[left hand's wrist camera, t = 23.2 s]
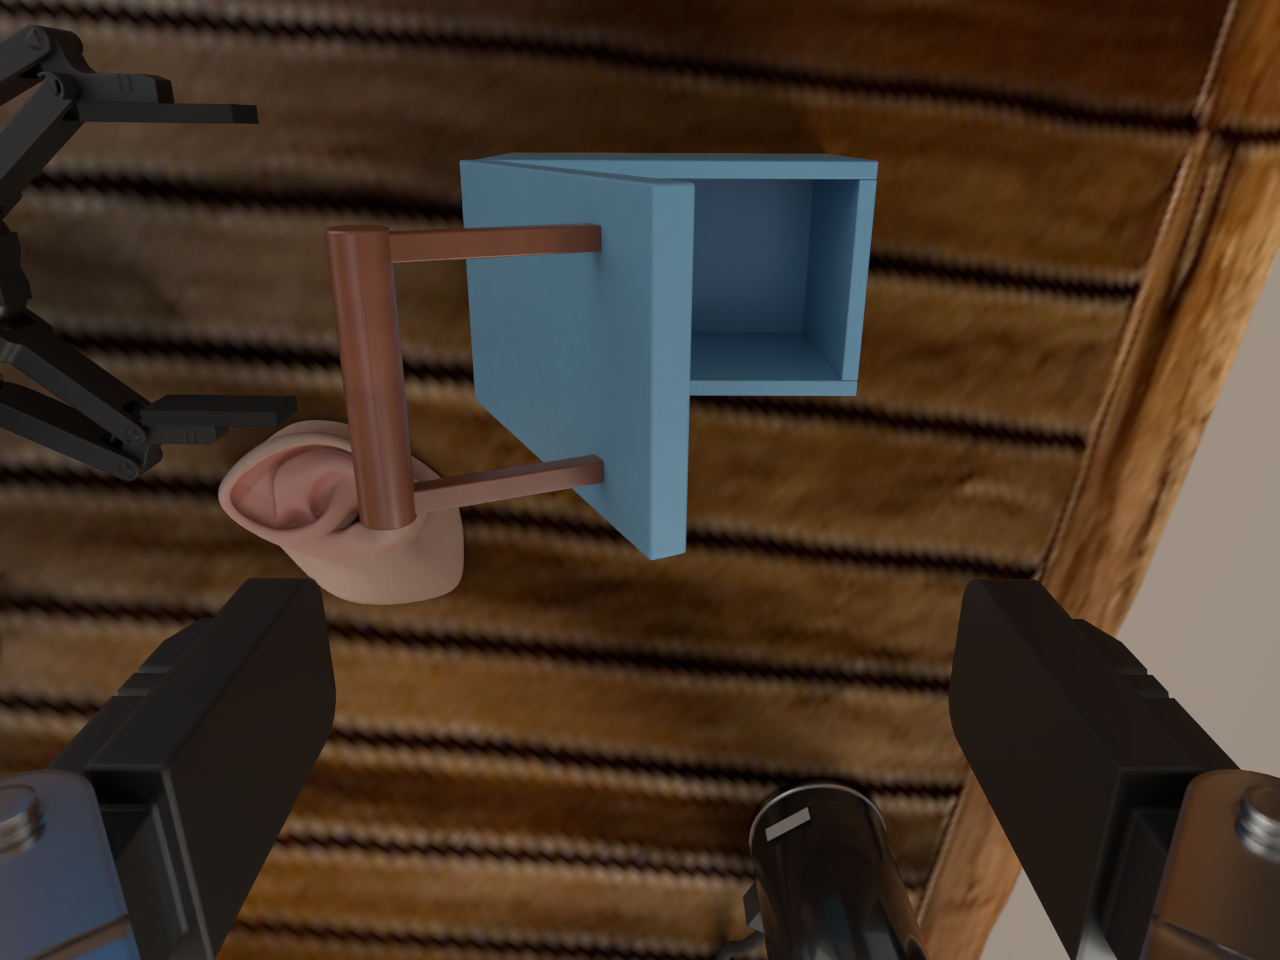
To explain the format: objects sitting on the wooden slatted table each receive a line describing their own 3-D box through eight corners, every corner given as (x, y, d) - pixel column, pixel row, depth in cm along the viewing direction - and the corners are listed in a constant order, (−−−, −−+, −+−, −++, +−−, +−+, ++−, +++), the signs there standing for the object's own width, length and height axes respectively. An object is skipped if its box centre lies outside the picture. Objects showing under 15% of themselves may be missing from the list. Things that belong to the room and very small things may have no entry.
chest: (827, 153, 46) (879, 160, 36) (812, 342, 49) (856, 396, 39) (511, 152, 46) (475, 158, 36) (519, 341, 49) (489, 395, 39)
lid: (696, 182, 21) (341, 190, 18) (687, 554, 25) (389, 618, 21) (487, 159, 35) (268, 162, 32) (500, 397, 39) (305, 421, 36)
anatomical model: (487, 603, 51) (313, 672, 52) (498, 571, 54) (335, 636, 56) (371, 397, 46) (185, 480, 48) (391, 378, 50) (217, 454, 52)
